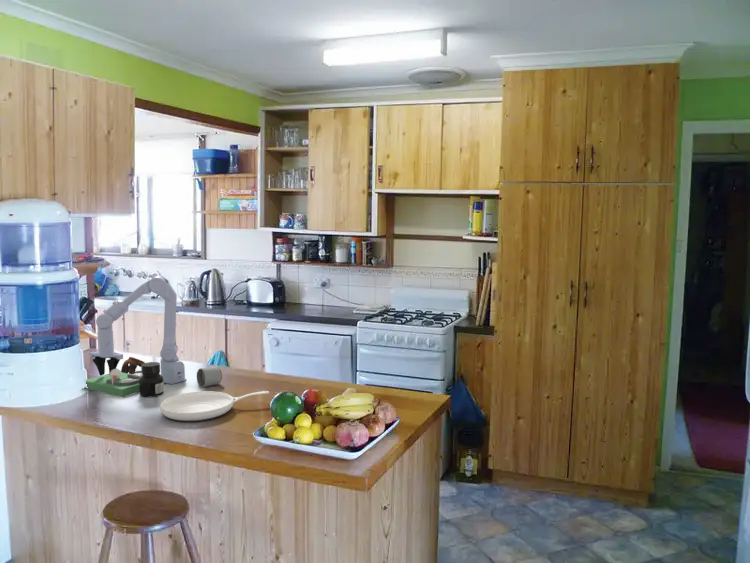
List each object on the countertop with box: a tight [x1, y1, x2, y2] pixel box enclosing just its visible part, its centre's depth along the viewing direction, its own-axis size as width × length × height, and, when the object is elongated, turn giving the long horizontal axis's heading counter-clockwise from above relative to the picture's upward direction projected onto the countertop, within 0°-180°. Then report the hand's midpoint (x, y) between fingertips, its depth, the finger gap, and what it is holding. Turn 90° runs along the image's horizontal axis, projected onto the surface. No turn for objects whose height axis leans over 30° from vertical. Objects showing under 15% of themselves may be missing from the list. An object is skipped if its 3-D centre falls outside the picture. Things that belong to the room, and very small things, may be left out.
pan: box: [159, 390, 270, 422], centre depth 219 cm, size 25×38×5 cm, turn 111°
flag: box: [111, 374, 117, 387], centre depth 237 cm, size 3×1×8 cm, turn 60°
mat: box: [85, 372, 142, 398], centre depth 247 cm, size 24×16×4 cm, turn 60°
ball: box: [110, 368, 122, 380], centre depth 248 cm, size 4×4×4 cm
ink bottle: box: [139, 361, 165, 398], centre depth 237 cm, size 10×9×12 cm
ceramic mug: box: [196, 366, 223, 388], centre depth 251 cm, size 11×8×8 cm
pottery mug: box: [120, 356, 146, 375], centre depth 268 cm, size 12×10×8 cm
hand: (107, 375), depth 250 cm, fingers open, 4 cm apart
